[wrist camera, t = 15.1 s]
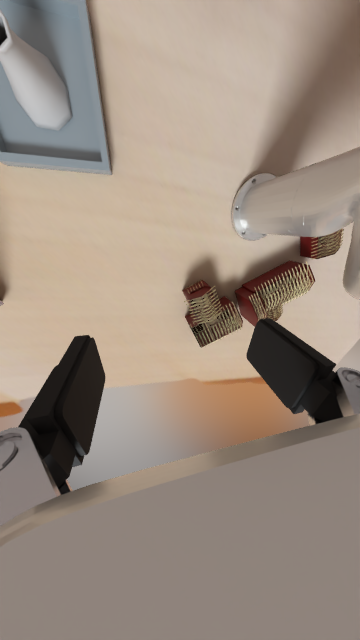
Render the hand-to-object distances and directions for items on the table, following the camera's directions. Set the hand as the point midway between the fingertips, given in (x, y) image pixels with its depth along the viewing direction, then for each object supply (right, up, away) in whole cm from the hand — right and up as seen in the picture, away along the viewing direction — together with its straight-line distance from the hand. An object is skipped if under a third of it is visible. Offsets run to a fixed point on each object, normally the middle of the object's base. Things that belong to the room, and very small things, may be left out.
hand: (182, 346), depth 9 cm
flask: (-20, +34, +14) cm, 42 cm away
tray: (-20, +34, +14) cm, 42 cm away
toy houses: (+22, +12, +38) cm, 46 cm away
